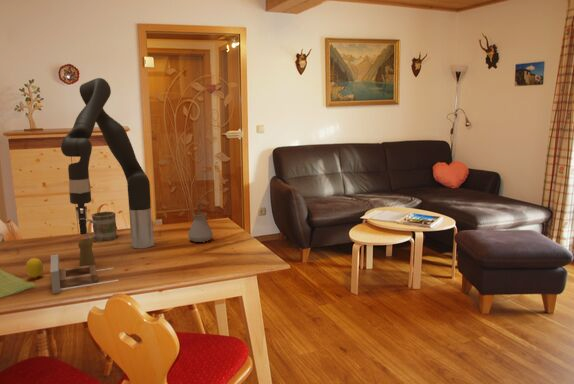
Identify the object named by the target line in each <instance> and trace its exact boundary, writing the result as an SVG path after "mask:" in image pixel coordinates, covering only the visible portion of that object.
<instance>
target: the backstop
mask: <svg viewBox="0 0 574 384" xmlns="http://www.w3.org/2000/svg"><path fill="white" fill-rule="evenodd" d="M59 270H60V259H59V254H58V253H57V254H51V255H50V271H49V272H50V281H51V291H52V295H54V294H61V291H65V290H66V291H67V290H72V289H78V288H79V289H80V288H85V287H90V286H91V287H93V286H98V285H105V284H110V283H117V282H119V279H115V280H107V281H100V282H98V283H93V284H87V285H80V286H74V287H67V288H61V289H60V273H59ZM110 270H115V268H114V267H108V268H101V269H96V273H97V272H103V271H110Z"/></svg>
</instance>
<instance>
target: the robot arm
mask: <svg viewBox="0 0 574 384" xmlns="http://www.w3.org/2000/svg"><path fill="white" fill-rule="evenodd" d="M111 89H112V88H111V86H110V84H109V82H108V80H106V79H105V78H102V77H98V78H94V79H92V80H89V81H87V82H84V83H82V84H81V85H80V86H79V94H80V97H81V99H82V101H83V103H84V104H85V106H84V107H83V108H82V109H81V111H80V112H79V113H78V115H77V116H76V118H75V122H74V125H73V127H72V129H71V130H69V132H68V133H66V135H65V137H64V138H63V140H62V142H61V145H60V151H61V153H62V154H63V156H66V157H68V158H69V157H70V158H71V157H72V158H74V157H75V158H77V157H78V158H79V160H78V162H72V163H70V164H69V165H68V168H67V171H68V172H67V173H68V194H69V202H70V204H71V205H77V206H75V213H76V217H77V219H76V220H78V225H79V233H80V235H85V234H86V226H87V222H88V221H87V222H86V219H88V206H86V204H90V203H91V202H92V191H91V182H90V173H89V172H90V171H89V165H90V160H91V155H92V150H93V146H92V142H91V140H89V139H90V138H91V137H92V134H93V132H94V130H95V129H94V128H95V126H96V124H97V126H98V129H99V131H100V132H101V134H102V136H103V139H104V141H105V143H106V145H107V148H108V149H109V151H110V152H111V153H112V155H113V157H114V158H115V160H116V161H117V162H118V164H119V166H120V167H121V170H122V171H123V174H124V176H125V178H126V182H127V183H126V184H127V197H128V199H127V200H128V212H129V213H128V214H129V225H130V226H129V227H130V238H131V239H130V241H131V242H130V243H131V247H132V248H133V249H147V248H151V247H154V246H155V240H154V238H155V237H154V226H153V224H152V223H153V222H152V221H153V220H152V206H151V205H152V204H151V200H152V199H151V184H150V180H149V177H148V176H147V174H146V173H145V171H144V169H143V168H142V166H141V165H140V163H139V161H138V159H137V157H136V153H135V151H134V147H133V145H132V143H131V140H130V138H129V136H128V133H127V131H126V130H125V128H124V127H123V126H122V124H121V123H119V122H118V121H117V120H116V119H114V118H113V117H111V115H109V114H108V113H107V112H106V110H105V109H104V107H105V105H106V103H107V102H108V100H109V99H110V96H111V95H112V94H111V93H112V92H111V91H112V90H111Z"/></svg>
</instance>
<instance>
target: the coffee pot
mask: <svg viewBox="0 0 574 384" xmlns="http://www.w3.org/2000/svg"><path fill="white" fill-rule="evenodd" d="M201 205H202V204H201V203H199V202H198V203H197V212H194V213H192V216H193V217H194V218H193V221H192V224H191V226H190V228H189V231H188V234H187V237H188V239H189V240H190V241H191V242H193V241H194V242H193V243H195V242H203V243H205V242H204V241H207V242H209V241H210V240H211V239H212V238H213V235H214V233H213V231H212V229H211V227H210V225H209V222H208V221H207V218H206V217H207V215H208V213H207V212H203V211H202V212H201ZM208 240H209V241H208Z"/></svg>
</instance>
